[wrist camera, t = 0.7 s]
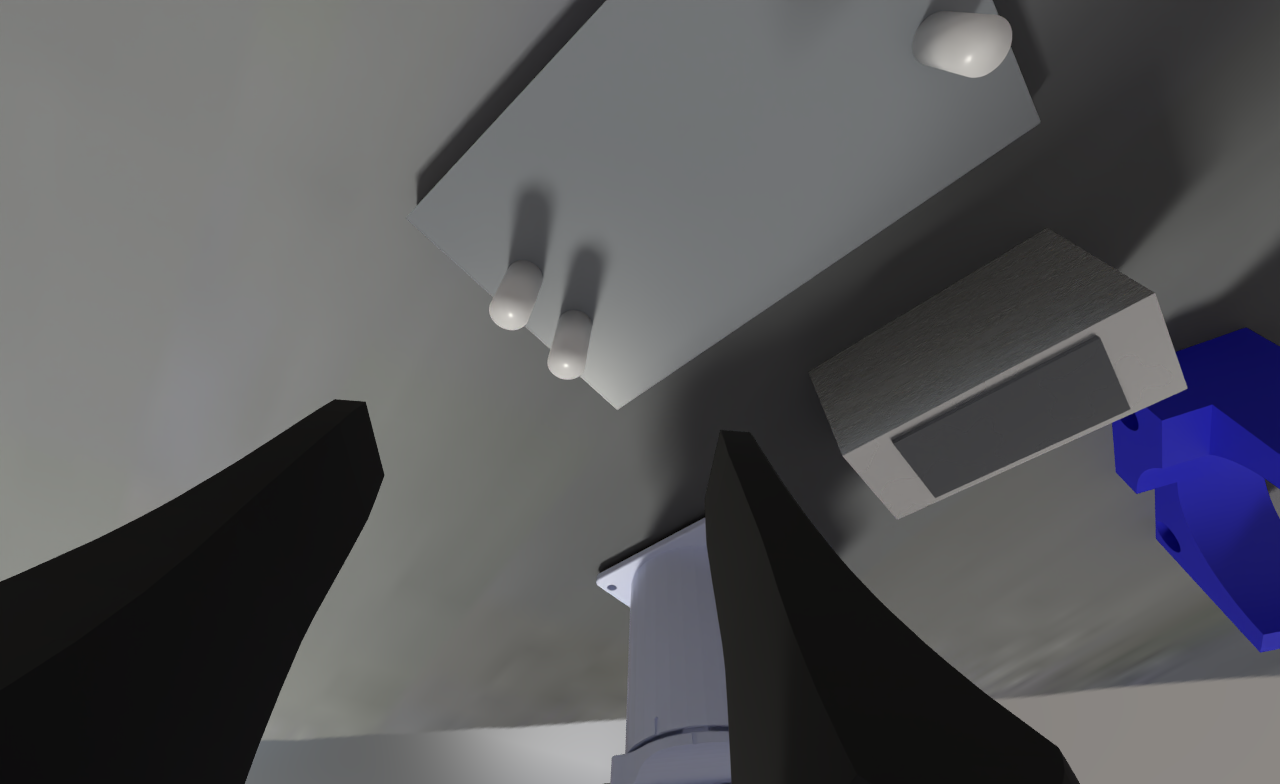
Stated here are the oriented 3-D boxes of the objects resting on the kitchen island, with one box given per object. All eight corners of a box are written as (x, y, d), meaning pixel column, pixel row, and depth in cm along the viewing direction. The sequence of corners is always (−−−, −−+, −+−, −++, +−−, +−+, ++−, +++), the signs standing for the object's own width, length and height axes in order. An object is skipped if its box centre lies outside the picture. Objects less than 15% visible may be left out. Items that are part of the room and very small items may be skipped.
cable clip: (1105, 372, 22) (1234, 482, 17) (1241, 324, 20) (1424, 428, 16) (1119, 544, 28) (1217, 661, 23) (1224, 516, 27) (1352, 634, 22)
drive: (1080, 308, 20) (1191, 391, 16) (855, 429, 24) (898, 522, 20) (1044, 226, 18) (1159, 295, 14) (807, 370, 22) (843, 458, 18)
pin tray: (1021, 115, 16) (1099, 142, 13) (618, 394, 23) (614, 452, 20) (861, -275, 12) (926, -356, 9) (416, 208, 18) (373, 248, 15)
